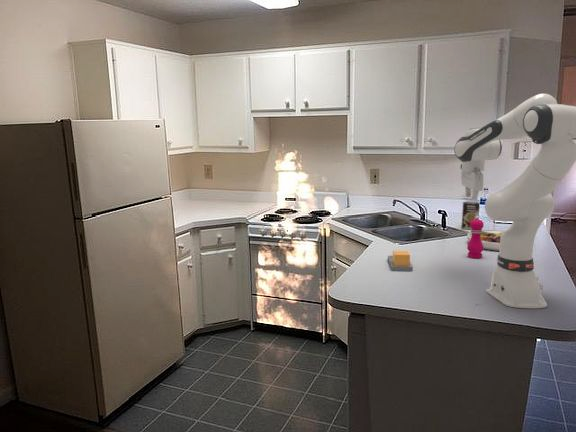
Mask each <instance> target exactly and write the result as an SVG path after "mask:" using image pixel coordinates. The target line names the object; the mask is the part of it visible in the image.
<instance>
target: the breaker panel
mask: <svg viewBox="0 0 576 432" xmlns="http://www.w3.org/2000/svg"><path fill="white" fill-rule="evenodd" d="M387 261H388V262H387V263H388V264H389V268H390V270H391V271H392V272H413V270H414V269H413V268H414V266H413V264H412V263H411V261H410V266H394V264H393V254H390V255H387Z"/></svg>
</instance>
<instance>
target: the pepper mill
mask: <svg viewBox="0 0 576 432" xmlns="http://www.w3.org/2000/svg"><path fill="white" fill-rule="evenodd" d="M470 227H471V228H472V229H471V230H470V232H472V237H471V240H470V242H469V241H468V243H467V246H466V249H467V250H468V252H467V257H468V258H471V259H482V258H483V254H482V252H483V251H484V249H483V244H482V241H481V233H482V230H483V228H484V221H483V220H482V219H480V216H476V217H475V219H474V220H472V221H471V222H470Z"/></svg>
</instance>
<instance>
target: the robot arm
mask: <svg viewBox="0 0 576 432" xmlns="http://www.w3.org/2000/svg"><path fill="white" fill-rule="evenodd" d="M526 137H529V138H530V139H531V140H532V143H534V144H537V145H540V146H541V147H540V149H539V151H538V153H537V154H536V155H535V157H534V158H533V159H532V161H531V162H530V163H529V165H528V166H527V167H526V168H525V170H524V171H523V172H522V173H521V174H520V176H517V178H516V179H515V180H514V181H512V182H511V183H509V184H508V185H507V186H505V187H504V188H503V189H501V190H498V191H497V192H494V193H492V194H490V195H488V196H487V198H486V200H485V203H484V210H485V213H486V215H487V217H488V218H489V219H490V220H493V221H498V222H503V223H505V222H507V223H508V222H511V225H510V226H509V227H508V228H507V229H506V230H503V231H504V232H503V233H502V235H501V237H500V250H499V251H498V252H499V254H498V255H497V259H496V262H497V263H496V265H497V266H496V267H495V269H494V270H492V274H491V281H490V282H491V283H490V288H487V289H486V291H485V292H486V293H487V294H489V295H490V296H491V297H493V298H494V299H496V300H497V301H499V302H500V303H501V304H503V305H504V306H507V307H510V308H517V309H544V308H547V307H548V303H547V302H546V300H545V298H544V297H543V295H542V293H541V291H543V290H544V283H540V282H539V277H537V275H536V273H535V270H534V269H535V267H534V265H535V264H534V263H535V262H534V258H533V253H534V251H533V250H534V243H535V240H536V239H535V238H536V236H537V233H538V230H539V228H540V227H541V225H542V224H543V222H544V221H545V220H546V219H547V218H548V217H549V216H550V215H552V214H553V212H554V209H555V199H554V196H552V194H551V193H552V192H554V190H555V189H556V187H558V185H560V183H561V182H562V180H563V179H564V178H565V177H566V176H567V175H568V173H569V172H570V170H571V169H572V167H573V165H574V164H575V162H576V143H575V142H574V141H573V140H575V141H576V105H575V106H574V105H569V104H561V103H560V104H559V103H558V101H557V99H556V98H555V97H554V96H552V95H551V94H549V93H538V94H536V95H533V96H531V97H530V98H528V99H526V100H524V101H523V102H522V103H520V104H519V105H517V106H516V107H515V108H513V109H512V110H510V111H509V112H507V113H506V114H504V115H503V116H501V117H499V118H497V119H495V120H493V121H491V122H489V123H487V124H485V125H484V126H482V127H475V128H470V129H467V130H466V131H465V134H464V136H461V137H460V138H459V139H458V140H457V142H456V143H455V146H454V149H453V150H454V155H455V156H456V158H457V159H458V160H459V161H460V162H461V164H460V166H459V167H460V170H461V176H460V178H461V186H464V190H465V198H466V197H467V198H470V197H471V200H472V201H478V196H479V192H482V191H484V173H483V172H484V171H485V161H493V160H497V159H498V158H499V157H500V155H501V153H502V151H503V144H502V141H501V140H515V139H523V138H526ZM471 190H472V192H471Z"/></svg>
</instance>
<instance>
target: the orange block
mask: <svg viewBox="0 0 576 432" xmlns="http://www.w3.org/2000/svg"><path fill="white" fill-rule="evenodd" d="M392 255H393V264H394V266H410V262H411V254H410V252H409V250H392Z"/></svg>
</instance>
